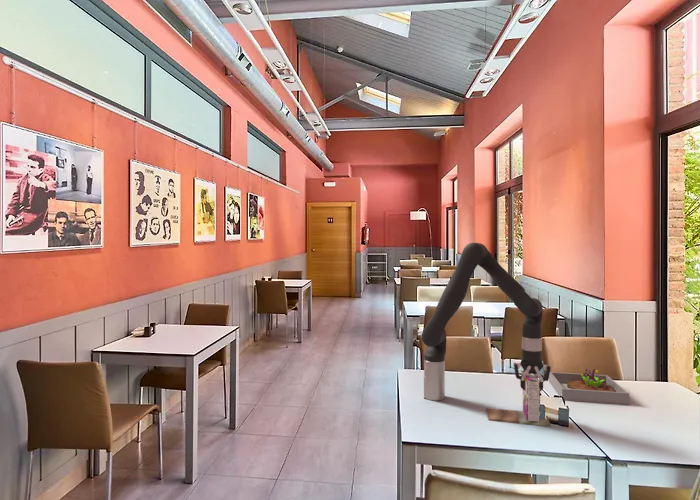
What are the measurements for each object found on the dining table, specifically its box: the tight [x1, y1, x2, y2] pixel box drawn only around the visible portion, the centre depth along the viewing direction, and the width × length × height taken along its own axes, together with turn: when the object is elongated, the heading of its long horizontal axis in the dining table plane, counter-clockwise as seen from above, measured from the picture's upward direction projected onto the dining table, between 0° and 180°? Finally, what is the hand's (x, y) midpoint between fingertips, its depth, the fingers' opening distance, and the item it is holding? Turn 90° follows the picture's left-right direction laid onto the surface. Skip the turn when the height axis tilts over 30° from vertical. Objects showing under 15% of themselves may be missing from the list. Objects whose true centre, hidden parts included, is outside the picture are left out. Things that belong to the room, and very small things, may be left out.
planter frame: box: [548, 371, 630, 406], centre depth 201 cm, size 27×27×5 cm
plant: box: [566, 368, 616, 392], centre depth 205 cm, size 20×20×11 cm
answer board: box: [485, 408, 551, 427], centre depth 172 cm, size 23×11×2 cm, turn 76°
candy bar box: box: [522, 374, 541, 422], centre depth 170 cm, size 11×5×16 cm, turn 167°
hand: (531, 389), depth 170 cm, fingers open, 5 cm apart
